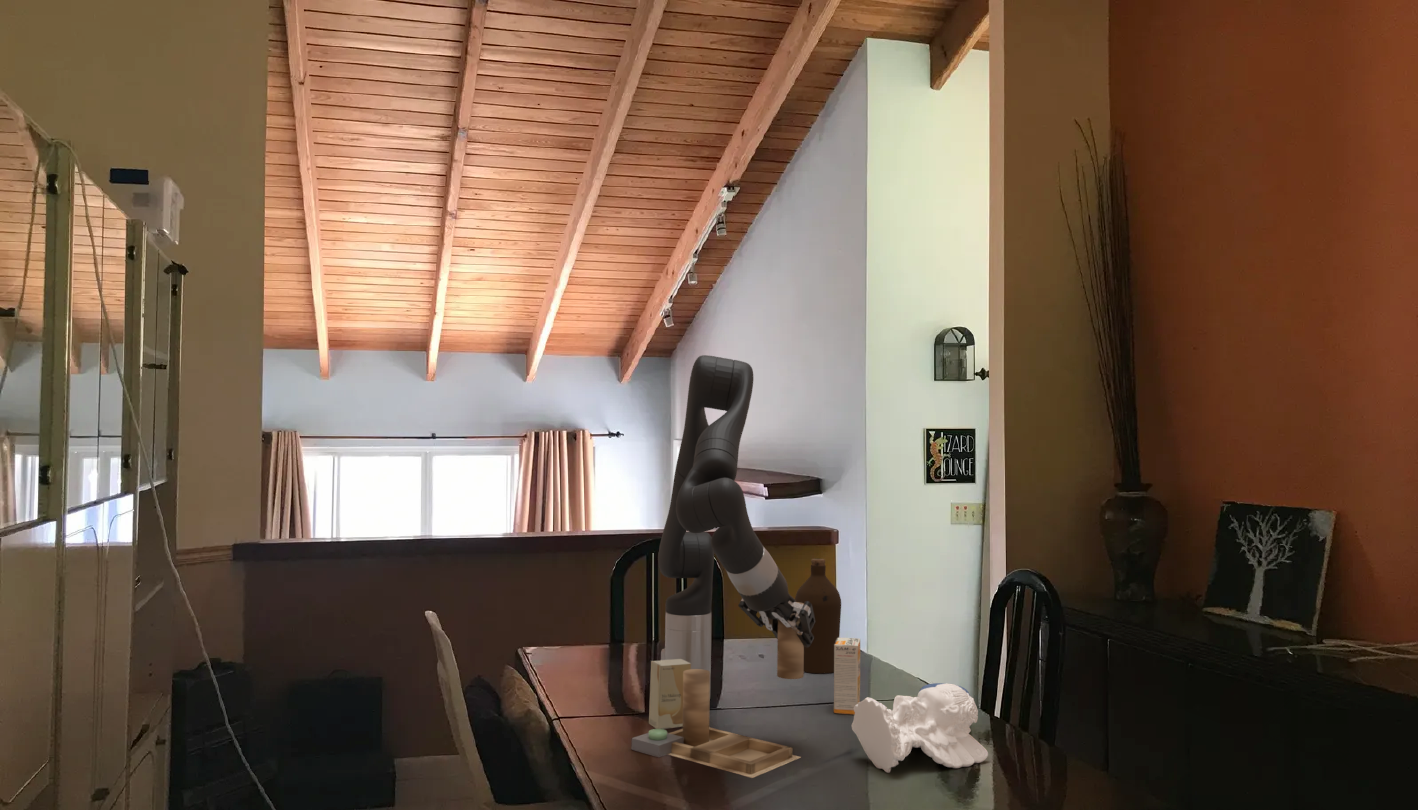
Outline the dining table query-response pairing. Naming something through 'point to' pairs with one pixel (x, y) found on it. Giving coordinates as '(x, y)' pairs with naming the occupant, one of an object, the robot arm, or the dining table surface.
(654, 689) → the skincare box
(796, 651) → the loose billet
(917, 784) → the dining table surface
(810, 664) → the olive oil
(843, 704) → the supplement box
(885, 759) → the cherub figurine
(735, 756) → the wooden tray
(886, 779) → the dining table surface
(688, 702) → the cylinder
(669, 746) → the block
